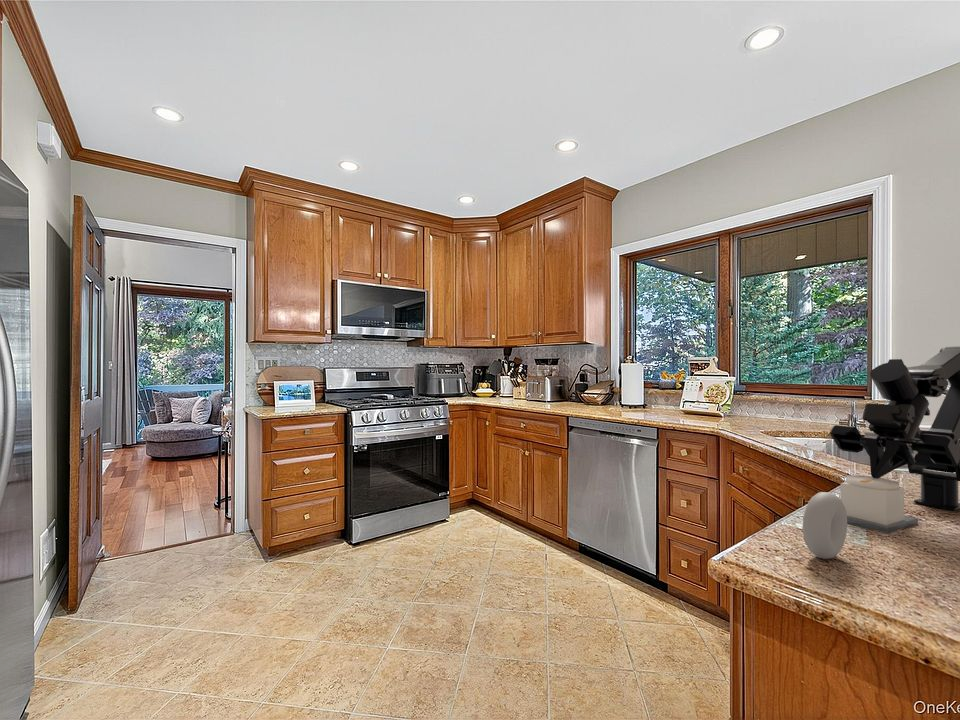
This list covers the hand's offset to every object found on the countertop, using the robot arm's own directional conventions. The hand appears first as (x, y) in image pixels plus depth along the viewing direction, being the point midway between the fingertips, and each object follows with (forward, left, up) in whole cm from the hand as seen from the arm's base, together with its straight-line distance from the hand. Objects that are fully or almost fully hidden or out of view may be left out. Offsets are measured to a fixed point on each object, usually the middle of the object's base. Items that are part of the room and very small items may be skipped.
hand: (874, 476), depth 87 cm
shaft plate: (0, 0, -8) cm, 8 cm away
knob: (+1, 0, -7) cm, 8 cm away
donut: (+28, +5, -9) cm, 30 cm away
